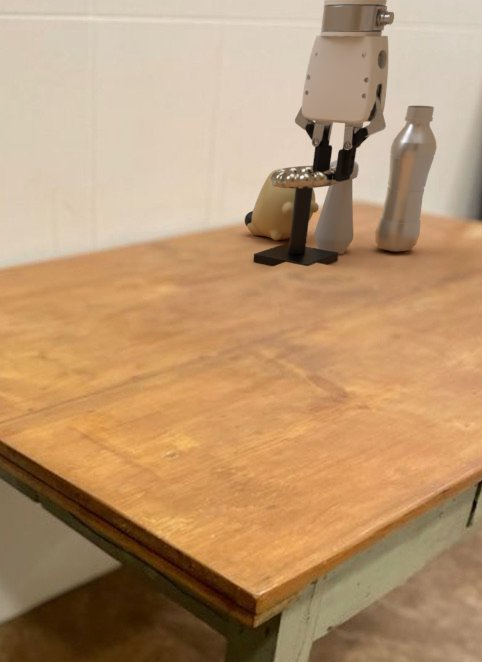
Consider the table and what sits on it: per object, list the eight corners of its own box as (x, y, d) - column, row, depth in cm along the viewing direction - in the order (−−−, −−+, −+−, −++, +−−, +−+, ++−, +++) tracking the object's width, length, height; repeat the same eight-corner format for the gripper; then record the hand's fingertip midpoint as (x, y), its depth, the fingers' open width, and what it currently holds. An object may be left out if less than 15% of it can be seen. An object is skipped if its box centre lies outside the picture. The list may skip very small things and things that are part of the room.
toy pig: (296, 256, 137) (274, 204, 140) (337, 209, 127) (312, 153, 129) (248, 261, 133) (226, 207, 136) (285, 213, 123) (261, 155, 125)
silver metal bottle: (365, 251, 126) (389, 107, 115) (383, 243, 130) (408, 103, 120) (405, 258, 122) (433, 109, 112) (423, 249, 127) (452, 106, 116)
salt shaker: (304, 251, 126) (316, 160, 119) (326, 245, 129) (338, 156, 122) (336, 258, 122) (350, 164, 116) (358, 251, 126) (372, 160, 119)
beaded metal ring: (356, 180, 115) (357, 164, 114) (319, 190, 109) (320, 174, 108) (294, 178, 121) (295, 164, 120) (256, 188, 115) (257, 173, 114)
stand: (337, 260, 121) (349, 180, 115) (306, 272, 115) (317, 189, 110) (285, 250, 126) (294, 173, 120) (253, 262, 121) (260, 181, 115)
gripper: (426, 22, 100) (398, 182, 110) (310, 22, 110) (294, 169, 119) (399, 23, 96) (373, 189, 105) (281, 23, 105) (266, 176, 115)
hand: (331, 177), depth 112 cm, fingers closed
